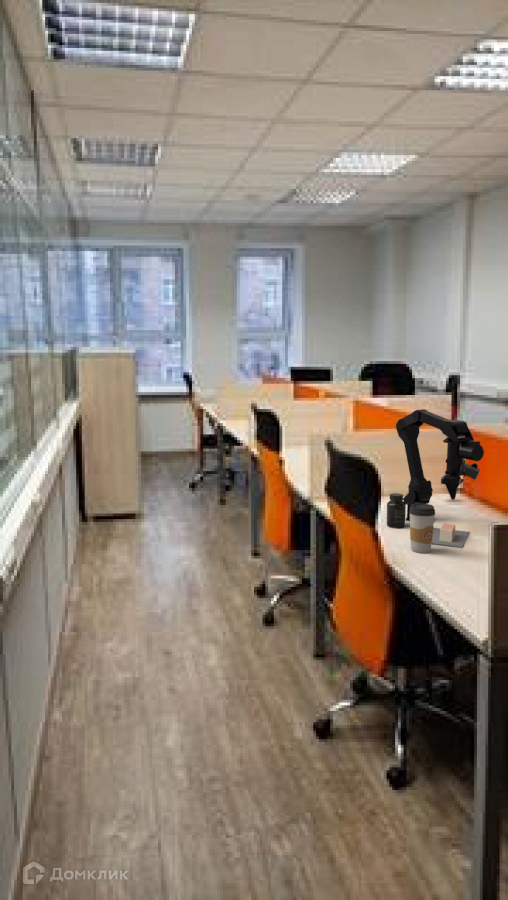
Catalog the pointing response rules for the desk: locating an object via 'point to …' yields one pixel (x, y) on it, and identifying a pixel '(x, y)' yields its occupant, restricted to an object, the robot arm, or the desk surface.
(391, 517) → the supplement bottle
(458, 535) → the mat
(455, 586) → the desk surface
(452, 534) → the block
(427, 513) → the coffee cup
